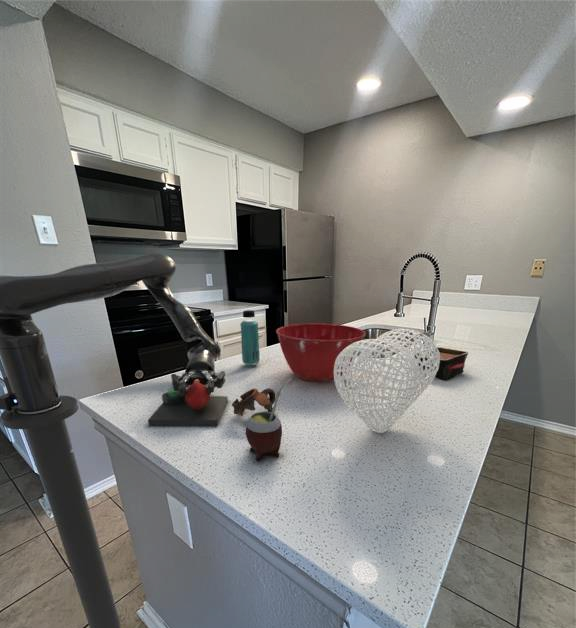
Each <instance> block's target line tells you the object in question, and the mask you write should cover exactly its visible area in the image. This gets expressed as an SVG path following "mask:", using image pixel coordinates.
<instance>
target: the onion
mask: <svg viewBox="0 0 576 628" xmlns="http://www.w3.org/2000/svg"><path fill="white" fill-rule="evenodd" d="M199 382H200V381H199V380H198V379H197V380H195V381H194V383H193V384H192V385H190V386H189V388H188V389H187V391H186V395H185V400H186V402H187V404H188V405H189V406H190V407H191V408H193V409H196V410H202V409H203V408H204V407H205V406H206V405H207V404H208V403H209V401H210V396H211V395H208V390H207V387H206V386H204V385H203V384H201V383H199Z"/></svg>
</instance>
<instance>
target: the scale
mask: <svg viewBox="0 0 576 628" xmlns="http://www.w3.org/2000/svg"><path fill="white" fill-rule="evenodd" d="M161 400H162V403H161V404H160V405H159V407H158V408H156V410H155V411H154V412H153V413H152V414H151V415H150V417H149V418H148V419H147V423H148V427H218V426H219V424H220V421H221V419H222V417H223V414H224V412H225V410H226V407H227V405H228V402H229V399H228V396H225V395H223V396H220V395H219V396H218V395H217V396H216V395H215V396H214V395H210V401H209V403H208V404H207V405H206V406H205V407H204V408H203V409H202V410H196V409H193V408H191V407H190V406H189V405H188V404H187V402H186V400H185V396H182V395H180V396H177V397H168V392H167V391H166V392H164V393H163V394H162V395H161Z"/></svg>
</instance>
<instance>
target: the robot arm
mask: <svg viewBox="0 0 576 628" xmlns="http://www.w3.org/2000/svg"><path fill="white" fill-rule="evenodd" d="M176 268H177V267H176V263H175V261H174V260H173V259H172V258H171V257H170V256H169V255H167V254H164V253H162V252H150V253H147V254H143V255H139V256H136V257H131V258H125V259H119V260H113V261H112V260H111V261H106V262H96V263H87V264H81V265H77V266H73V267H70V268H67V269H64V270H62V271H59V272H56V273H51V274H42V275H41V274H40V275H25V276H24V275H23V276H22V275H21V276H19V275H17V276H16V275H1V274H0V361H1V363H2V366H3V367H2V368H3V369H4V372H5V373H4V374H5V376H3V382H4V385H5V389H6V392H7V393H4V394H2V395H0V411H2V410H3V411H5V410H8V411H11V410H12V409H13V410H14V413H19V414H21V415H36V414H41V413H45V412H49V411H52V410H54V409H56V408H58V407H59V406H61V404H62V402H61V400H60V396H61V390H59V389H58V385H57V382H56V378H55V374H54V371H53V367H52V363H51V360H50V357H49V352H48V349H47V346H46V342H45V337H44V334H43V332H42V330H40V328H39V327H38V326H37V325H36V323H35V321H34V320H33V317H32V315H33V314H36V313H40V312H43V311H45V310H49V309H52V308H55V307H58V306H61V305H66V304H74V303H75V304H76V303H83V302H88V301H94V300H101V299H105V298H109V297H113V296H116V295H118V294H120V293H122V292H124V291H126V290H128V289H129V288H131V287H132V286H134V285H136V284H138V283H139V282H141V281H142V283H143V285H144V286H145V287H146V288H147V290H148V291H149V292H150V293H151V295H152V296H153V297H154V299H155V300H156V301H157V303H159V305H160V306H161V307H162V308H163V310H164V311H165V312H166V313H167V315H168V316H169V317H170V319H171V321H172V323H173V324H174V326H175V327H176V329H177V331H178V333H179V334H180V336H181V338H182V339H183V340H184V341H185V342H188V343H190V342H193V341H196V340H201V342H200V343H198V344H196V345H195V346H192V347H191V348H190V349H189V350H188V351H187V355H186V356H187V359H188V362H187V364H186V368H185V371H184V373H182V375H178V374H175V373H172V374H171V375H170V379H171V384H172V388H173V390H174V391H178V390H179V394H180V395H182V396H185V395H186V391H187V389H188V388H189V386H190V385H192V384H193V383H194V381H195V380H197V379H198V380H199V381H200V382H199V383H201V384H203V385H204V386H206V387H207V390H208V395H210V396H212V393H214V392H215V389H216V388H217V389H222V388H223V386H224V385H225V384H226V383H225V382H226V378H227V377H226V371H223V370H221V371H220V372H218V373H216V372H215V371H216V370H215V368H216V364H215V361H216V360H217V359H218V358H220V357H221V354H222V351H221V347H220V345H219V344H218V343H217V342H216V341H215V340H214V339H213V338H212V337H210V335H208V333H206V331H205V329H204V328H203V327H202V325H201V324H200V322H199V320H198V319H197V317H196V316H195V313H194V312H193V311H192V310H191V309H190V308H189V307H188V306H187V305H185V304H183V303H182V302H180V301H179V300H177V299H176V297H174V295H173V294H172V292H171V290H170V287H169V284H170V282H171V281H172V279H173V278H174V277H175V273H176ZM12 407H13V408H12Z"/></svg>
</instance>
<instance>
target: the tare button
mask: <svg viewBox="0 0 576 628" xmlns="http://www.w3.org/2000/svg"><path fill="white" fill-rule="evenodd" d="M166 392H168V397H177V396H180V394H179V390H178V391H174V390H173V387H172V388H169V389H168V390H167V391H166Z"/></svg>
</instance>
